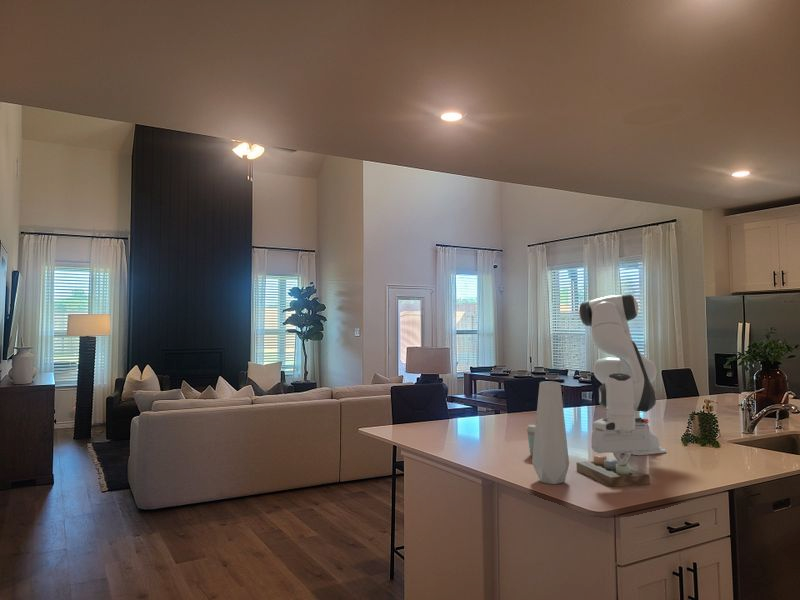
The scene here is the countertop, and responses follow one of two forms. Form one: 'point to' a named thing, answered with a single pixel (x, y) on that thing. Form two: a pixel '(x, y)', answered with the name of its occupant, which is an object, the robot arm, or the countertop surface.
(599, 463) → the button terracotta
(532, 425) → the coffee cup
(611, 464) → the button grey
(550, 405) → the white faceted column
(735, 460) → the countertop surface
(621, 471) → the button sage
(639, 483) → the panel
